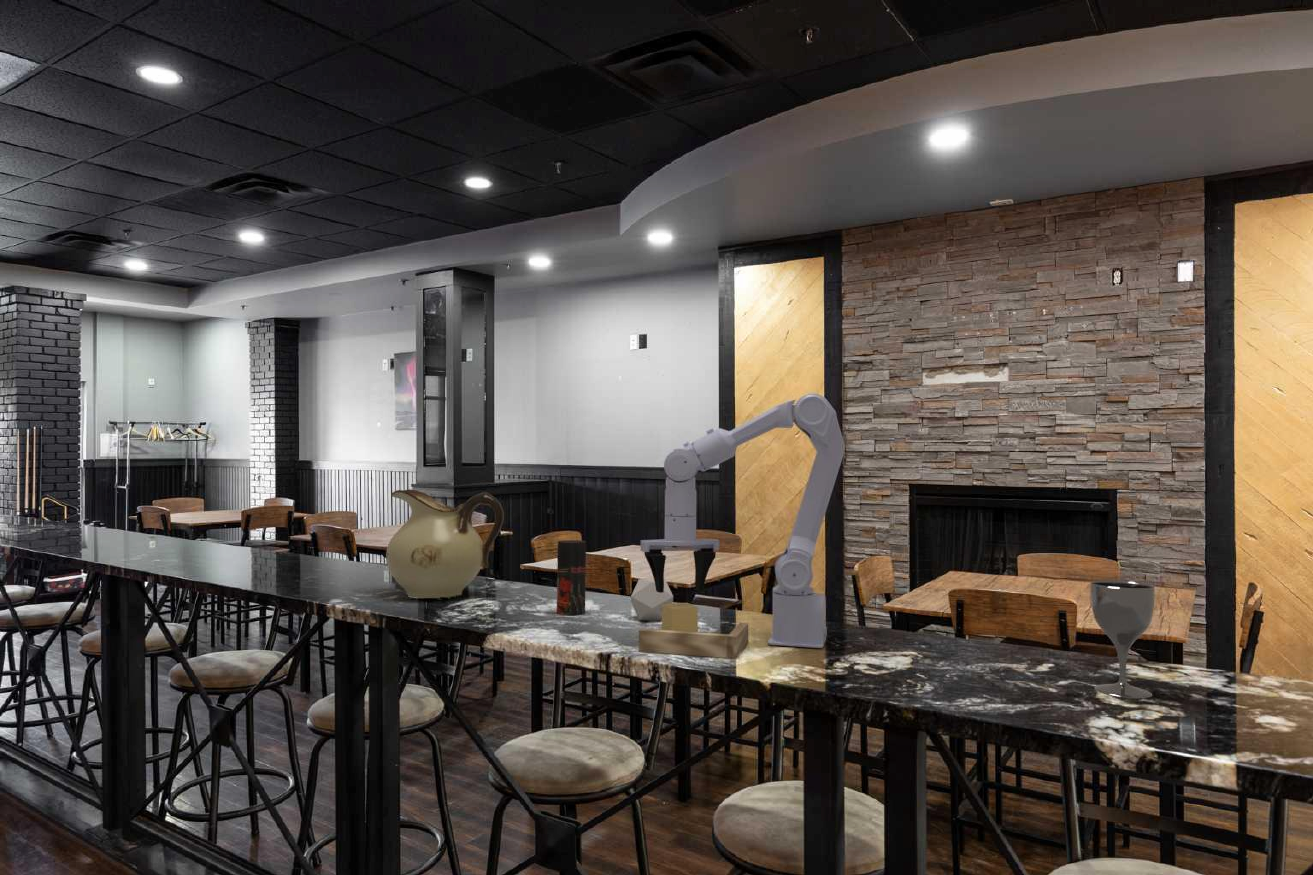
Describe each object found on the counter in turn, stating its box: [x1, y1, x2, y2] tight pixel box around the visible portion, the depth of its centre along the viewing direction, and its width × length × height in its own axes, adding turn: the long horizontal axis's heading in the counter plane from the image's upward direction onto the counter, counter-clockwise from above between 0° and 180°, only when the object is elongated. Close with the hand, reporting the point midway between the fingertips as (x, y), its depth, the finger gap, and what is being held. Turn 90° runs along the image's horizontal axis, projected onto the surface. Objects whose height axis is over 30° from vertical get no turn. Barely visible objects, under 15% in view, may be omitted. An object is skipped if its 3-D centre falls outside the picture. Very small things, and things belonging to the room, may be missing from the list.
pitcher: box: [385, 488, 505, 598], centre depth 194 cm, size 22×24×25 cm
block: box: [661, 602, 699, 632], centre depth 148 cm, size 5×5×6 cm
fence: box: [638, 622, 749, 659], centre depth 141 cm, size 16×12×4 cm
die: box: [630, 578, 674, 621], centre depth 167 cm, size 8×9×10 cm
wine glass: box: [1089, 579, 1156, 699], centre depth 116 cm, size 8×8×15 cm
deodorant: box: [556, 539, 587, 616], centre depth 173 cm, size 6×6×15 cm
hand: (679, 591), depth 148 cm, fingers open, 7 cm apart
